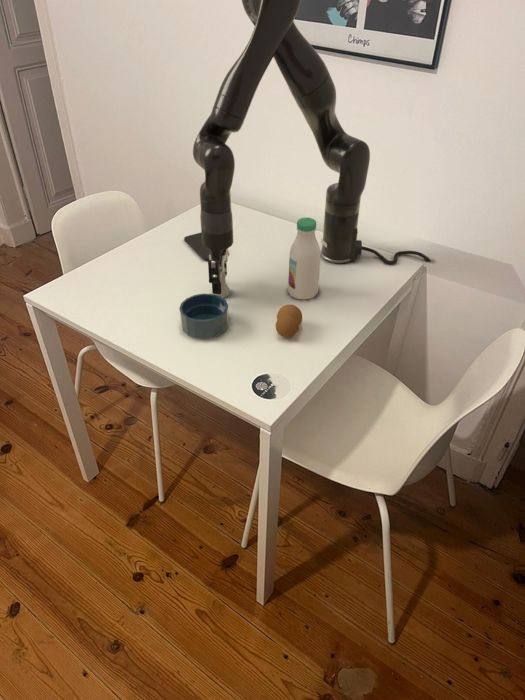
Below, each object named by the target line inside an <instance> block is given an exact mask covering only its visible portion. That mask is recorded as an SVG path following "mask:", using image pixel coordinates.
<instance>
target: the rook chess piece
mask: <svg viewBox="0 0 525 700" xmlns="http://www.w3.org/2000/svg"><path fill="white" fill-rule="evenodd" d="M220 268H221V267H219V269H220ZM225 272H226V268H225V267H224V272H223V273H222V275H221V279H222V280H221V289H222V292H221V294H214V295H218V296H221V297H222V298H223V299H225V298H227V297H228V296H229V295H230V293H231V291H230V286H229V285H228V283H227V281H226V277H227V276H226V274H225ZM225 276H226V277H225ZM214 277H217V275H214Z"/></svg>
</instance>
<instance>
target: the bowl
mask: <svg viewBox="0 0 525 700" xmlns="http://www.w3.org/2000/svg"><path fill="white" fill-rule="evenodd" d="M178 310H179V316H180V325H181V329H182V331H183V332H184V333H185V334H186V335H187V336H190V337H193V338H196V339H210V338H215V337H218V336H220V335H221V334H223V333H225V331H226V330H227V329H228V328H229V326H230V313H229V304H228V302H227V300H226V299H225V298H222V297H221V296H218V295H214V294H213V293H197V294H194V295H191V296H189V297H186V298H185V299H184V300H183V301H182V302H180V305H179V308H178Z"/></svg>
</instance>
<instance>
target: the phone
mask: <svg viewBox="0 0 525 700" xmlns="http://www.w3.org/2000/svg"><path fill="white" fill-rule="evenodd" d="M183 241H184V242H185V243H186V244H187V245H188V246H189V247H190V248H191V249H192V250H193V251H194V252H195V253H196V254H197V255H198V256H199V257H200V258H201V259H202V260H203V261H208V260H210V259H209V253H211V250H209V249H207V248H205V247H204V246H203V244H202V233H201V232H197V233H193V234H190V235H187V236H184V237H183Z"/></svg>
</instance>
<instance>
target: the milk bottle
mask: <svg viewBox="0 0 525 700" xmlns="http://www.w3.org/2000/svg"><path fill="white" fill-rule="evenodd" d="M296 231H297V232H296V236H295V238H294V240H293V242H292V244H291V246H290V250H289V259H288V283H287V284H288V285H287V286H288V288H287V290H288V294H289V295H290V296H291V297H292V298H294V299H297V300H310V299H313V298H315V297H316V296H317V294H318V293H319V284H320V283H319V281H320V268H321V247H320V245H319V242H318V240H317V237H316V231H317V221H316V220H315V219H314V218H312V217H301V218H299V219H298V220H297V221H296Z"/></svg>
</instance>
